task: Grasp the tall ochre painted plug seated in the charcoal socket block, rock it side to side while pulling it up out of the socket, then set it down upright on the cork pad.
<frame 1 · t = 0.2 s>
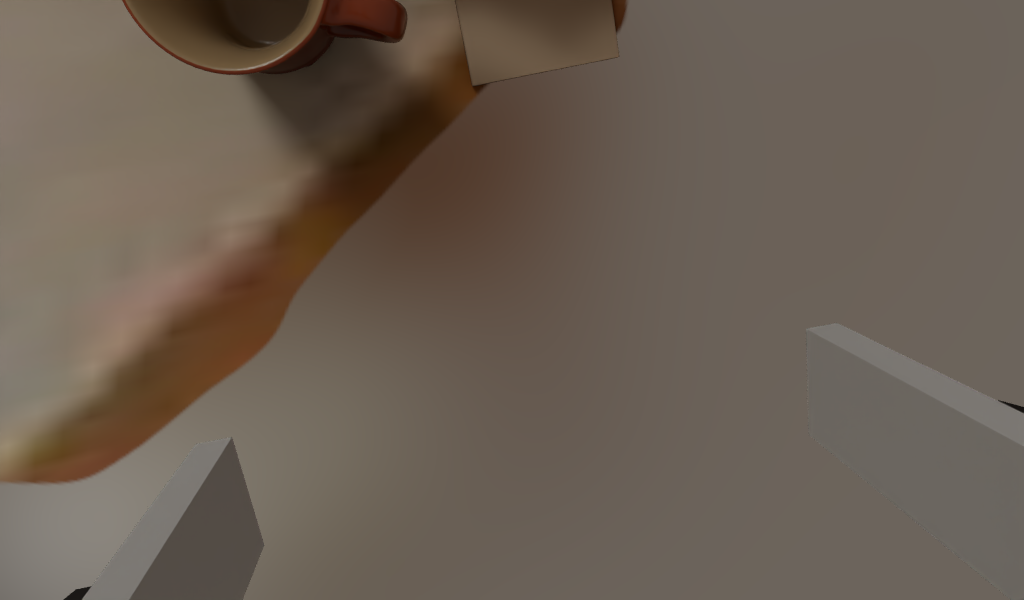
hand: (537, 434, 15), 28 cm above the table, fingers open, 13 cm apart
mug: (306, 16, 37), on the table
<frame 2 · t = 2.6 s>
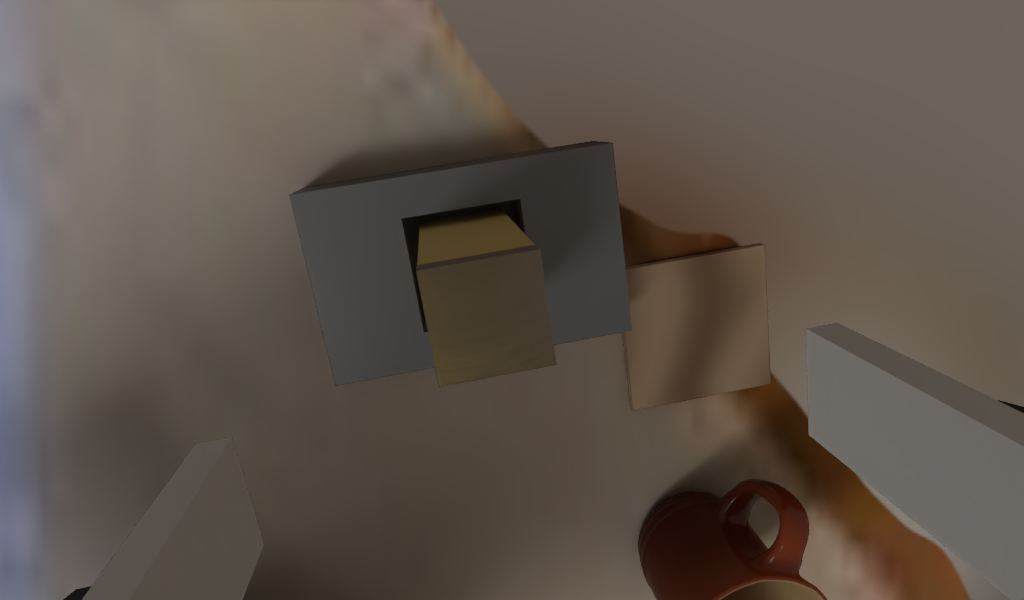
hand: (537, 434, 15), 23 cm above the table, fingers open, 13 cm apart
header: (466, 252, 37), on the table
mug: (692, 510, 44), on the table
plug: (467, 254, 36), resting on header
pad: (693, 326, 40), on the table
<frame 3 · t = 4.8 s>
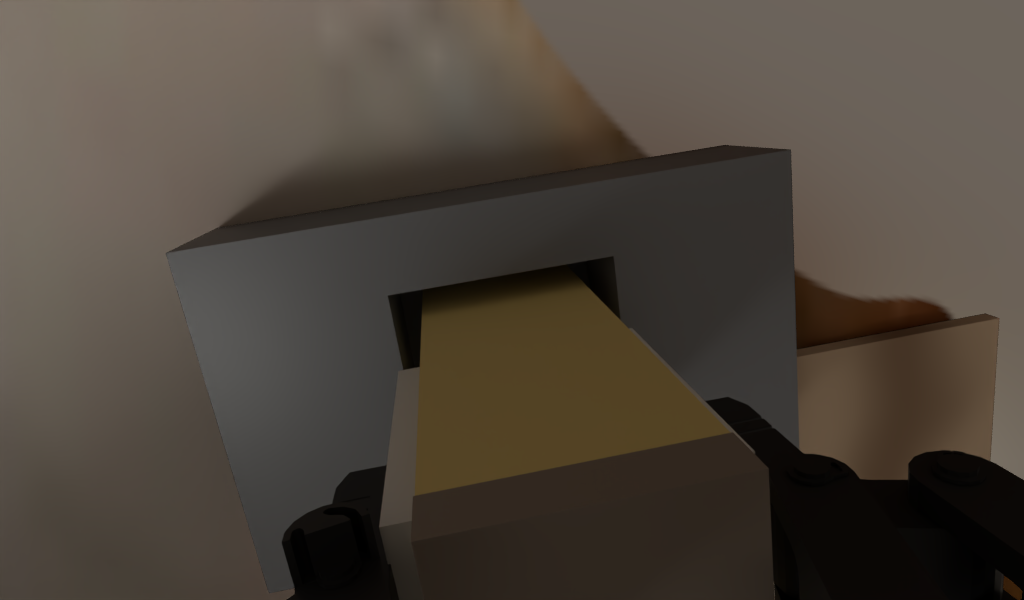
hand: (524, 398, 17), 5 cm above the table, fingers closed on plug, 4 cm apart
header: (502, 335, 22), on the table
plug: (504, 340, 21), resting on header, touching gripper
pad: (868, 446, 24), on the table
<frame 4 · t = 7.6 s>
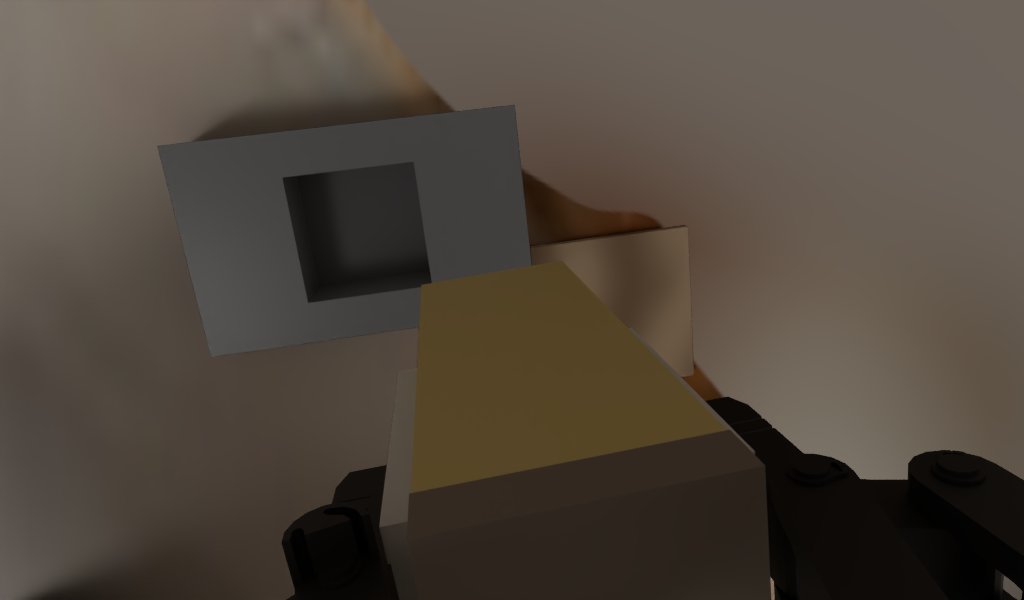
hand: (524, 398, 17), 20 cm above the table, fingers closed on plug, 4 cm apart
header: (367, 221, 35), on the table
plug: (502, 339, 21), point 15 cm above the table, touching gripper
pad: (612, 311, 38), on the table
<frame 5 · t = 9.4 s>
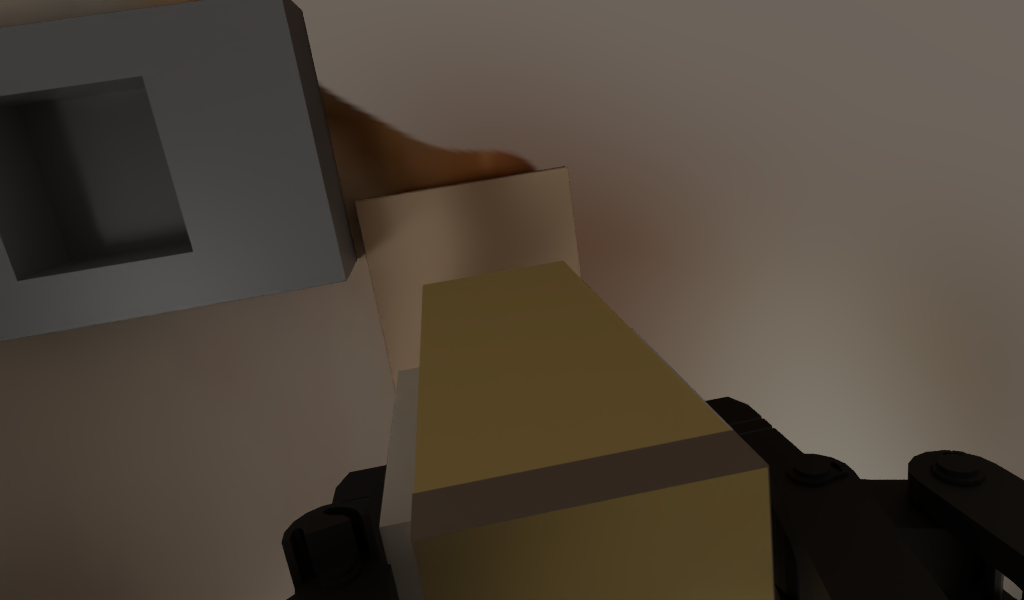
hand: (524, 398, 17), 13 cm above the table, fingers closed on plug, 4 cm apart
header: (129, 173, 26), on the table
plug: (504, 339, 21), point 8 cm above the table, touching gripper
pad: (478, 284, 29), on the table
when the fingers open (7 cm above the table, at t = 10.7 s): plug drops 2 cm, resting on pad.
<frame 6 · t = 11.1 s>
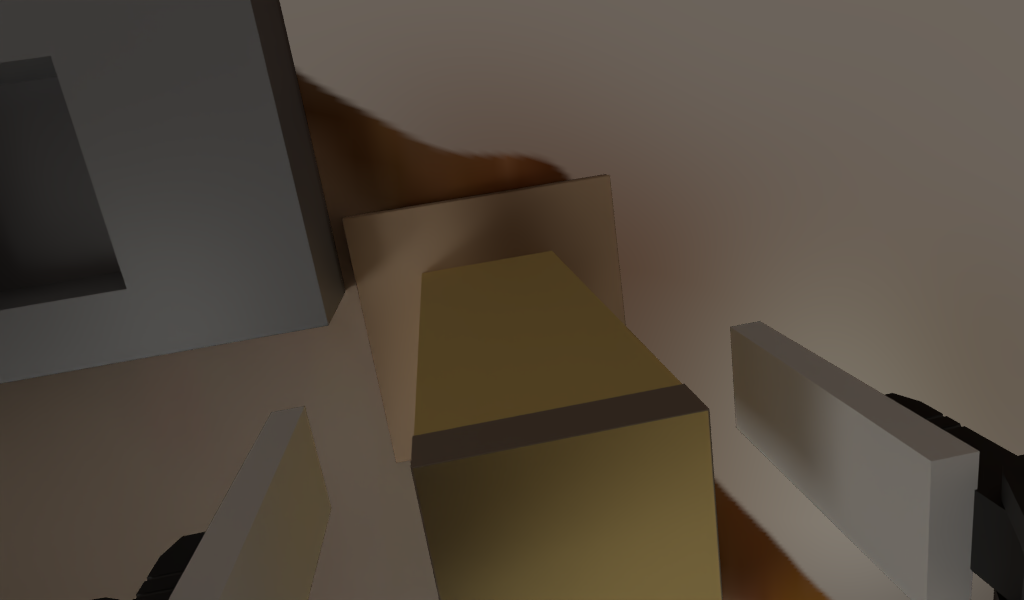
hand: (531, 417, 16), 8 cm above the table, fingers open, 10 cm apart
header: (55, 183, 20), on the table
plug: (497, 323, 23), point 1 cm above the table, touching pad
pad: (497, 319, 23), on the table
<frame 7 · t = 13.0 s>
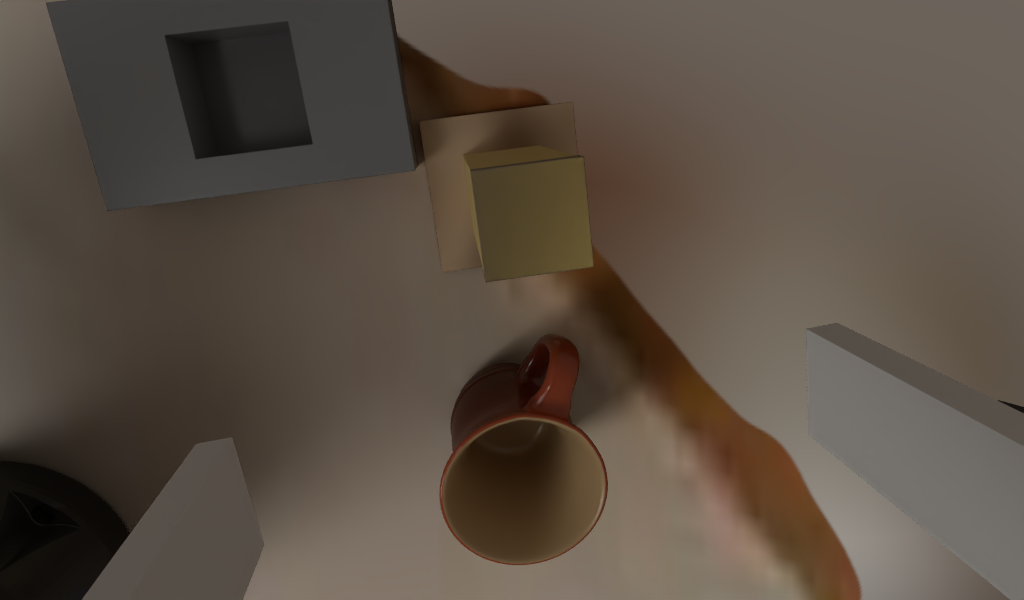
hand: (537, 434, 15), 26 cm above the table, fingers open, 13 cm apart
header: (262, 94, 37), on the table
mug: (514, 385, 43), on the table
plug: (505, 188, 39), point 1 cm above the table, touching pad
pad: (505, 188, 39), on the table
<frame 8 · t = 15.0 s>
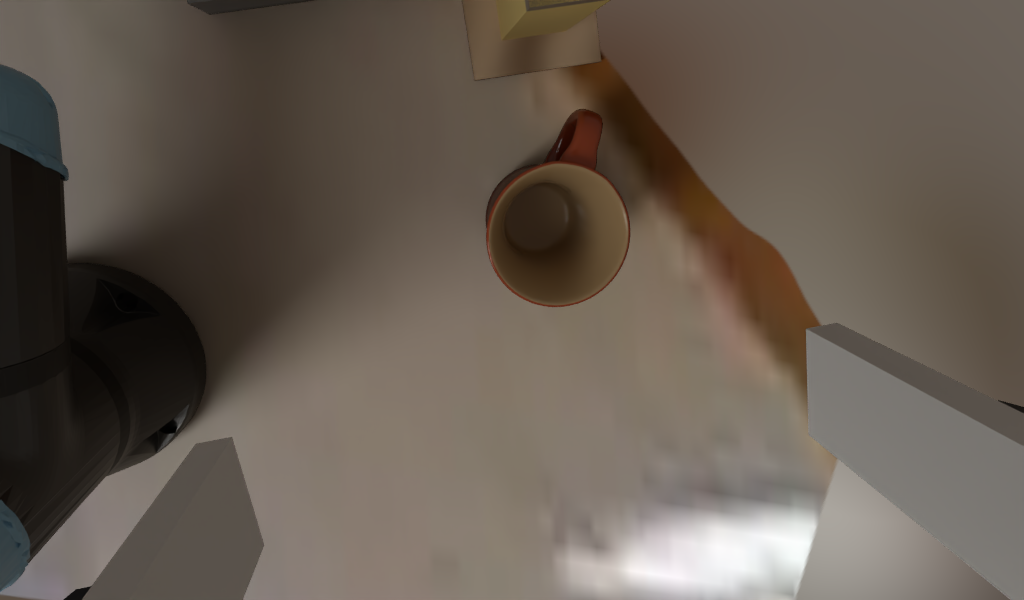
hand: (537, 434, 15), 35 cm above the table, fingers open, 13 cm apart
mug: (539, 192, 48), on the table
plug: (529, 0, 44), point 1 cm above the table, touching pad
pad: (528, 2, 45), on the table
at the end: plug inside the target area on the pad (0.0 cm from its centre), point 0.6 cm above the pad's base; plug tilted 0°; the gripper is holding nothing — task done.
